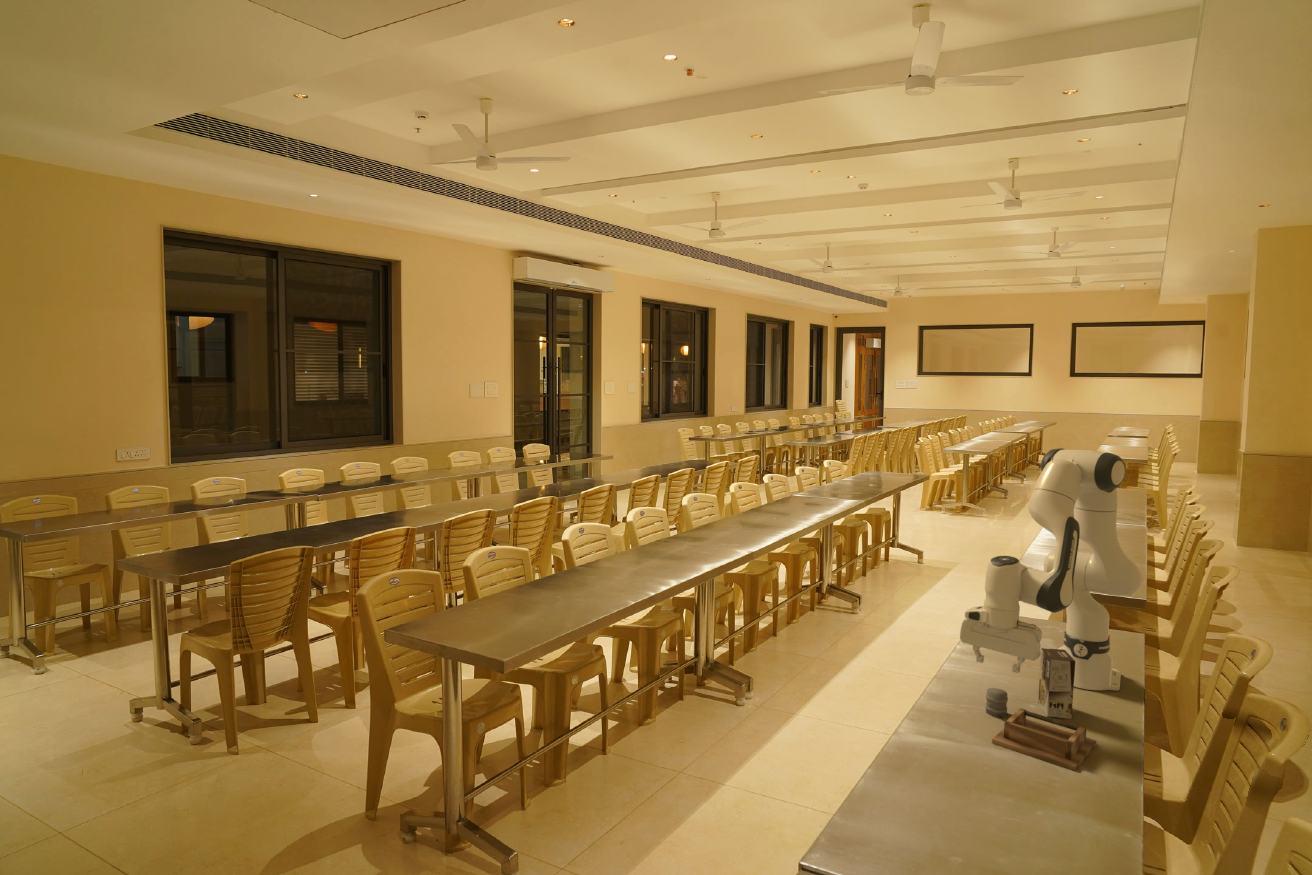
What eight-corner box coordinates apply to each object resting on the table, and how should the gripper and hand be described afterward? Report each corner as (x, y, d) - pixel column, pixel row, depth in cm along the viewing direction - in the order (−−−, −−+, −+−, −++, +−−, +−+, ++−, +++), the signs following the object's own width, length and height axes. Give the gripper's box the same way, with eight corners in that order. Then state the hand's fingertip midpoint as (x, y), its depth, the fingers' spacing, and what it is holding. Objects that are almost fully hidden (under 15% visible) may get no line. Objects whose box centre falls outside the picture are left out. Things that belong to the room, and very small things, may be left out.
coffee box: (1072, 719, 206) (1076, 661, 205) (1046, 716, 207) (1050, 659, 206) (1062, 704, 215) (1065, 648, 214) (1037, 702, 216) (1040, 646, 215)
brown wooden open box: (1017, 719, 206) (1018, 701, 205) (1096, 744, 193) (1097, 724, 192) (991, 742, 193) (993, 723, 192) (1075, 770, 180) (1076, 750, 179)
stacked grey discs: (989, 706, 213) (990, 686, 213) (1009, 713, 210) (1010, 691, 209) (982, 713, 209) (983, 691, 209) (1002, 719, 206) (1003, 697, 205)
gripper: (1046, 623, 202) (1042, 674, 203) (968, 606, 216) (965, 653, 217) (1038, 628, 197) (1034, 681, 198) (959, 610, 211) (956, 659, 212)
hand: (997, 666), depth 208 cm, fingers open, 8 cm apart
